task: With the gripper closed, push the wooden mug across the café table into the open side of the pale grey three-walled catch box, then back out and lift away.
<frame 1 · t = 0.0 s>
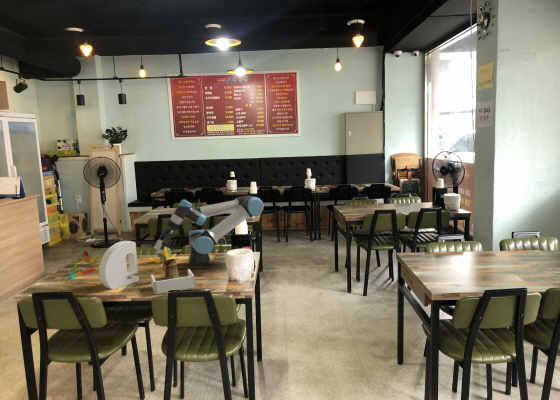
hand: (156, 251, 267), 15 cm above the table, tool tilted 35°, fingers open, 13 cm apart
catch box: (173, 287, 245), on the table
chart: (91, 272, 282), on the table
wooden mug: (169, 279, 260), on the table
bracket: (120, 285, 252), on the table
banana peel: (161, 262, 299), on the table
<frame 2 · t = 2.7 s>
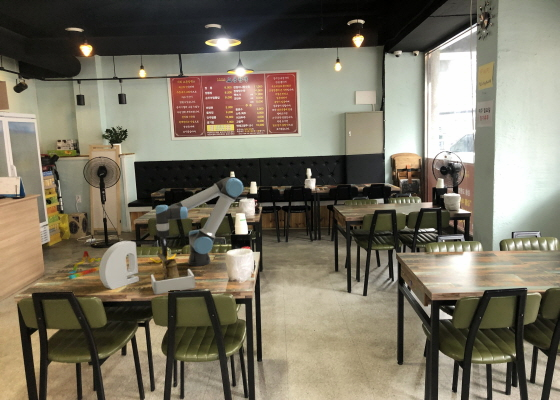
hand: (165, 266, 270), 5 cm above the table, tool pointing down, fingers closed
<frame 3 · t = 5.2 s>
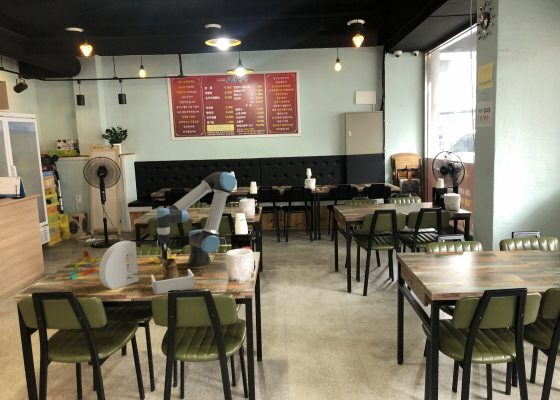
hand: (164, 270, 264), 4 cm above the table, tool pointing down, fingers closed
wooden mug: (168, 278, 260), on the table, touching gripper, hand
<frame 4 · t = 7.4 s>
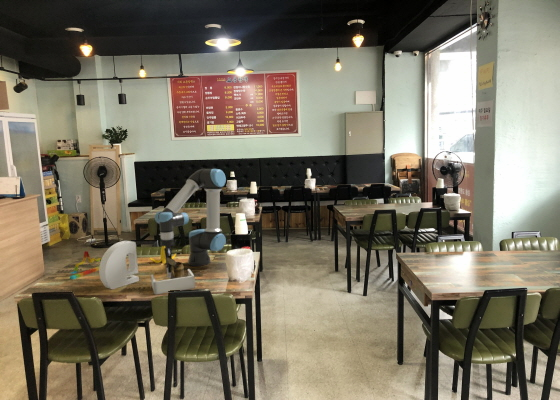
hand: (169, 277, 253), 3 cm above the table, tool pointing down, fingers closed
wooden mug: (175, 282, 251), on the table, touching gripper
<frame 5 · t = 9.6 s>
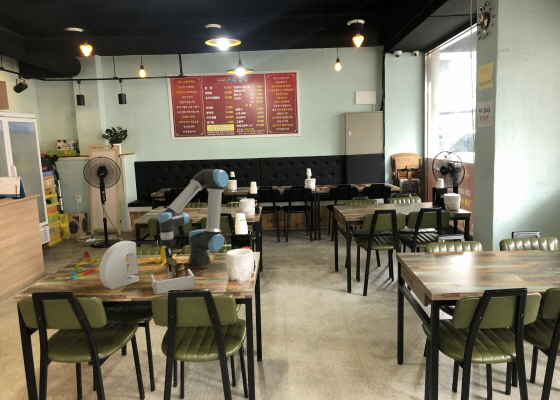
hand: (170, 276, 257), 2 cm above the table, tool pointing down, fingers closed
wooden mug: (177, 284, 250), on the table
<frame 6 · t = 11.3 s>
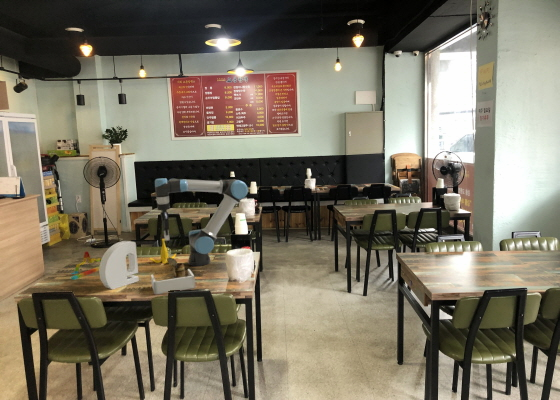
hand: (167, 240, 268), 22 cm above the table, tool pointing down, fingers closed
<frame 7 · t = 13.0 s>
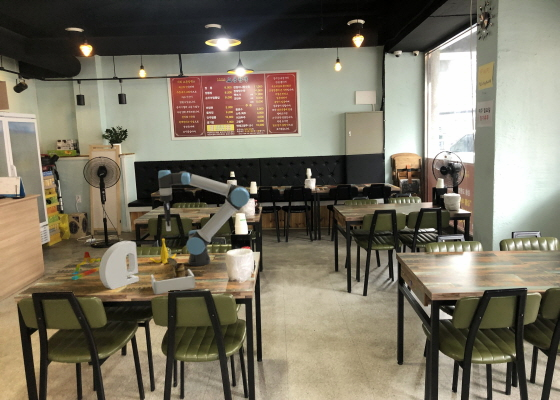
hand: (168, 230, 274), 26 cm above the table, tool pointing down, fingers closed
at the end: wooden mug inside the target area on the catch box (6.1 cm from its centre), point 0.0 cm above the catch box's base; wooden mug tilted 0°; the gripper is holding nothing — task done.
